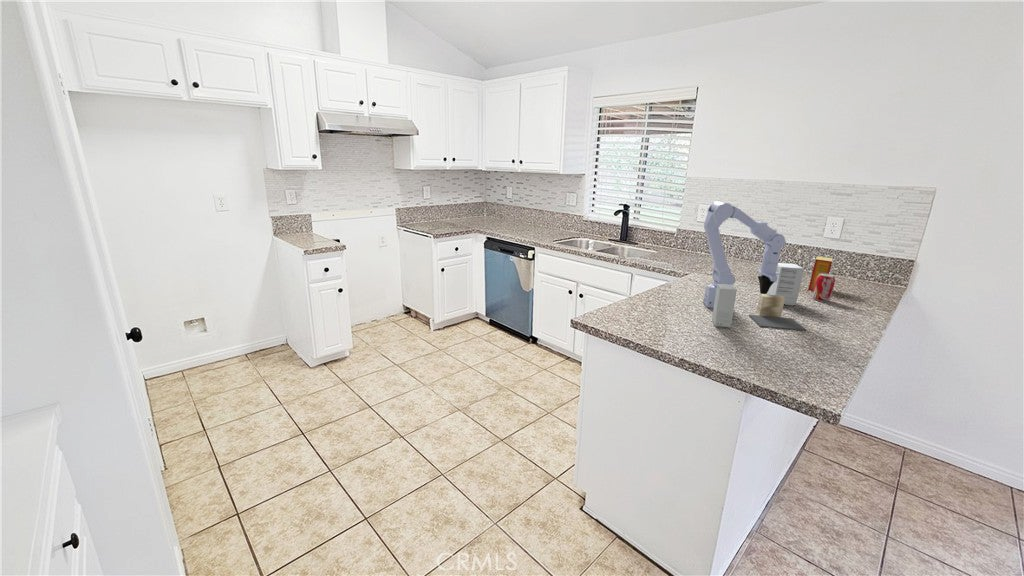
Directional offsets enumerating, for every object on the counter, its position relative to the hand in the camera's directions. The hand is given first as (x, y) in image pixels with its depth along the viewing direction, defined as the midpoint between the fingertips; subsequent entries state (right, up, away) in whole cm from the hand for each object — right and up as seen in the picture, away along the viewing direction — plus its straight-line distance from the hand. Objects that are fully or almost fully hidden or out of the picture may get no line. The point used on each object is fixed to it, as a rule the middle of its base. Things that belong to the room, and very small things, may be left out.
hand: (763, 293), depth 181 cm
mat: (-3, -11, -14) cm, 18 cm away
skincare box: (-26, -11, -16) cm, 33 cm away
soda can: (+36, -3, +17) cm, 40 cm away
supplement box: (+15, -4, +12) cm, 20 cm away
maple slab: (-2, -9, -6) cm, 11 cm away
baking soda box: (+46, +1, +34) cm, 57 cm away
